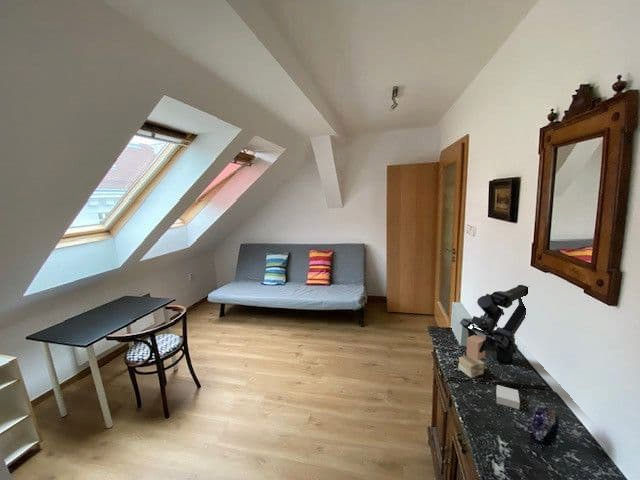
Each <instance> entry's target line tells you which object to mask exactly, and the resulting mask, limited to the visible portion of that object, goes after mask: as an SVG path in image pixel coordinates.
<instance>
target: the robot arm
mask: <svg viewBox="0 0 640 480" xmlns="http://www.w3.org/2000/svg"><path fill="white" fill-rule="evenodd" d="M528 287H529V286H528ZM528 287H527V285H523V284H518V285H517V286H515V287H513V288H511V289H509V290H505V291H503V290H499V291H498V290H497V291H493V292H492V293H491V294H489V293H486V294H485V295H482V296H480V297H479V298H477V302H476V303H477V305H478V306H479V307H480V309H481V310H482V311H483V312H484V314H483V315H480V317H478V316H475V315H473V317H472V318H473V319H472V322H470V321H468V320H465V319H463V320H461V322H460V324H461V325H462V326H463V327H464V328H465V329H467V330H468V337H470V336H473V335H477V334H476V333H475V332H476V331H477V332H479V333H482V334H484V335H486V339H485V341H484V343H483V345H482V346H481V348H480V351H479V352H480V353H482V352H483V351H485V352H486V351H487V350H488V349H489V348H492V347H493V346H494V347H495V348H494V351H493V357H494V359H495V360H496V361H497V363H499V365H501V364H504V365H514V364H515V362H514V360H513V359H514V354H516V353H517V351H518V345H517V344H516V343H515V342H516V338H515V337H516V336H515V335H516V333H517V331H518V329H520V326H521V325H522V323H523V322H524V321H525V319H526V317H525V315H526V308H525V306H524V304H523V302H522V299H521V297H523V296H526V295H527V294H528ZM516 300H517V301H518V305H517V307H515V310H513V313H512V314H511V316H510V317H509V318H508V320H507V321H506V323H505V324H504V326H503V327H500V326H498V325H499V324H498V322H499V320H500V319H501V317H502V316H505V312H504V308H505V309H508V308H510V307H511V306H513V302H514V301H516ZM501 307H502V308H501ZM495 328H496V329H495ZM487 333H488V334H487ZM488 336H489V337H488Z"/></svg>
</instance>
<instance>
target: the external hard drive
mask: <svg viewBox="0 0 640 480" xmlns="http://www.w3.org/2000/svg"><path fill="white" fill-rule="evenodd" d="M475 333H476V334H477V336H479V337H481V338H483V339H486V335H484V334H482V333H479V332H477V331H476V332H475ZM487 334H488V333H487ZM488 337H489V336H488Z"/></svg>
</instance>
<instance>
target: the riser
mask: <svg viewBox="0 0 640 480" xmlns="http://www.w3.org/2000/svg"><path fill="white" fill-rule="evenodd" d="M495 392H496V404H498V405H502V406H506V407H509V408H512V409H515V410H520V406H521V405H520V403H521V402H520V396H519V390H518V389H514V388H510V387H506V386H502V385H499V384H496V391H495Z"/></svg>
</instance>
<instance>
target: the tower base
mask: <svg viewBox="0 0 640 480" xmlns="http://www.w3.org/2000/svg"><path fill="white" fill-rule="evenodd" d="M457 367H458V369H459V370H460V371H462V372H463V373H464V374H465V375H467V376H468V377H470V378H475V377H478V376H480V375H483V374H484V370H485V368H484V369H483V370H479V371H475V372H471V373H470V372H469V371H468V370H467V369H465V368H464V367H463V366H462V365H461V364H459V363H458V366H457Z"/></svg>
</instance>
